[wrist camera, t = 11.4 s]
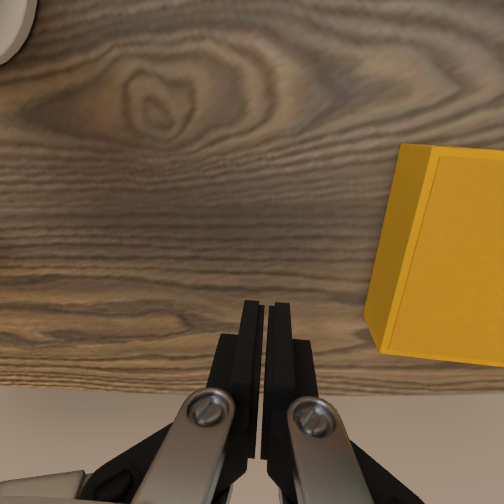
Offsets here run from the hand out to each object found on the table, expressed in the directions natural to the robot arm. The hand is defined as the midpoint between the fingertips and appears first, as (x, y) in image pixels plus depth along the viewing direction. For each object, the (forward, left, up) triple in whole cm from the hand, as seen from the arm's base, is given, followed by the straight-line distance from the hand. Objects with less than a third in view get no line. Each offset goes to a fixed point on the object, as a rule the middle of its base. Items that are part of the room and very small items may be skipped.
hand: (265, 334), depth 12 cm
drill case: (+14, 0, -14) cm, 20 cm away
